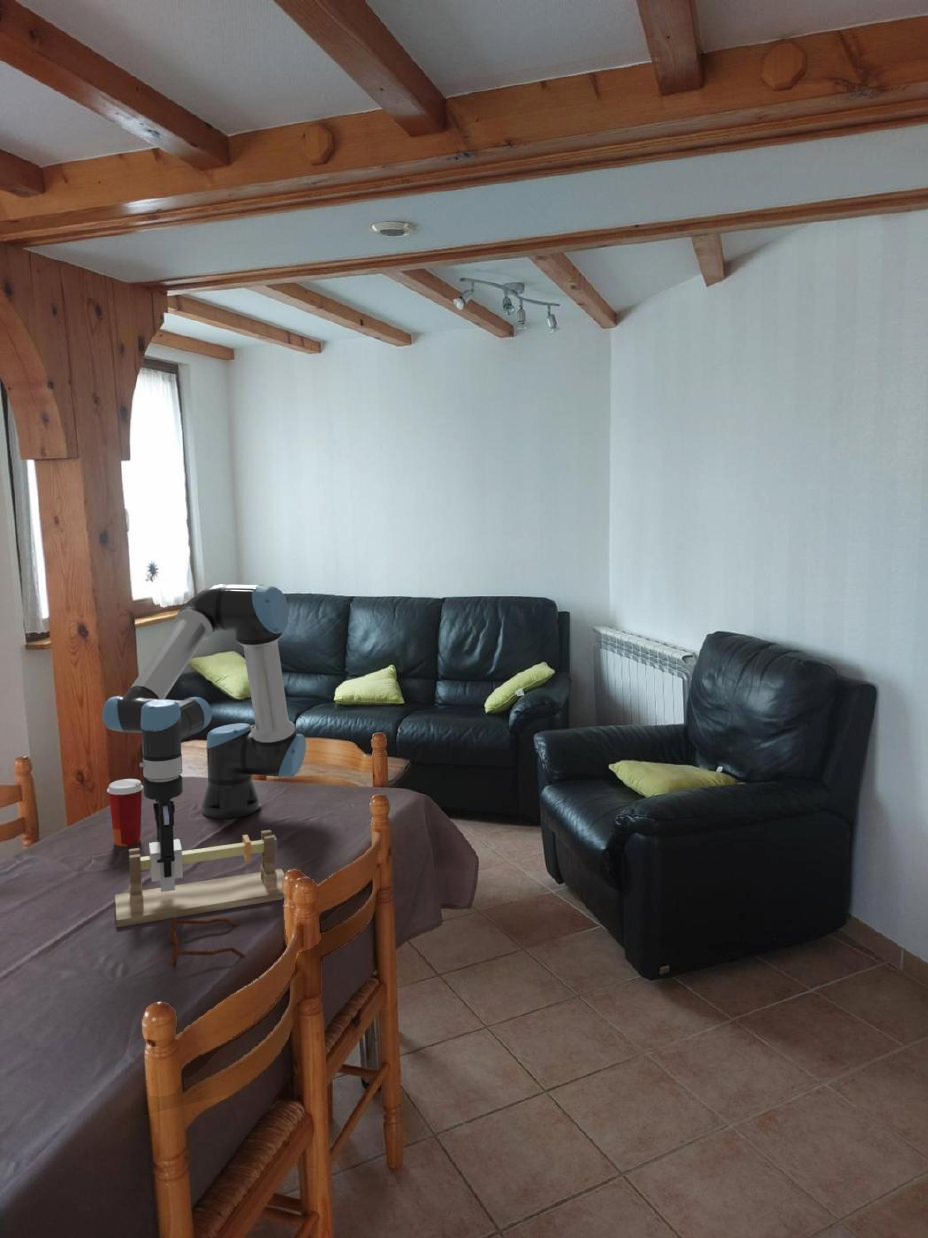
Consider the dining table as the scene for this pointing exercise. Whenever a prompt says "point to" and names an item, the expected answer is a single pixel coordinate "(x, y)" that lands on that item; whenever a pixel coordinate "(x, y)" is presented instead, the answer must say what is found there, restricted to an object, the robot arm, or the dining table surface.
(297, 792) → the dining table surface
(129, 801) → the coffee cup
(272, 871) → the wooden rod stand
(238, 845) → the pale yellow long bar
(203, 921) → the glasses
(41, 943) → the dining table surface
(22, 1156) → the dining table surface
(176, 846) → the sleeve
